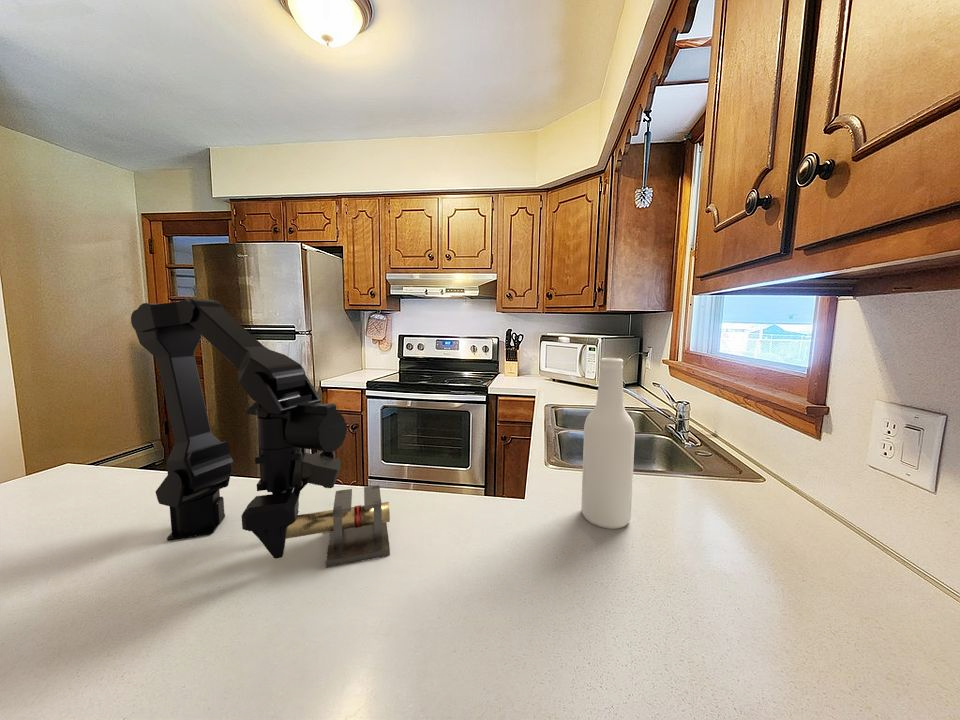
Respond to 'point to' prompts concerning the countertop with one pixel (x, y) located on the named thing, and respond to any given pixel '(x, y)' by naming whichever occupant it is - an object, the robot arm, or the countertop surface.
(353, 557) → the grey slotted stand
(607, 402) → the alcohol
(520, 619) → the countertop surface
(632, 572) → the countertop surface
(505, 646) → the countertop surface
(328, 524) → the tube
